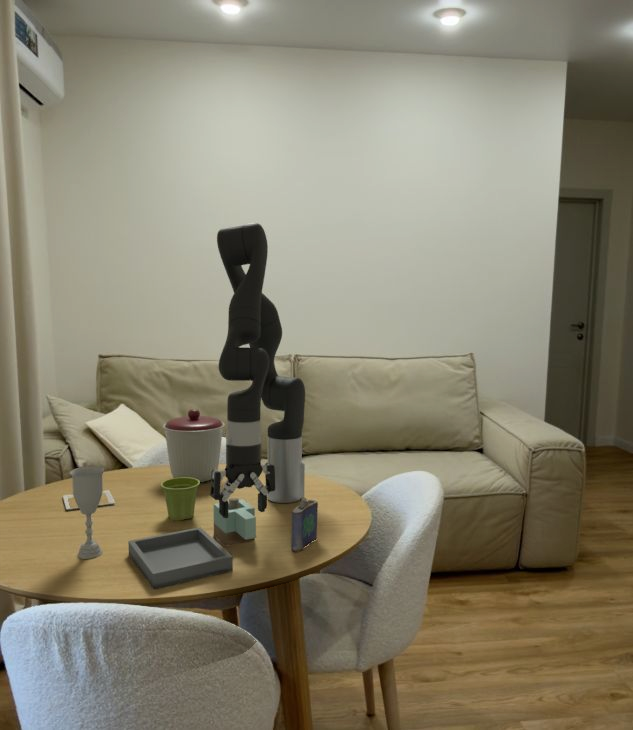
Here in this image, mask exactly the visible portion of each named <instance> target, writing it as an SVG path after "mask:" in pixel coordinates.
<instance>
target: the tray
mask: <svg viewBox="0 0 633 730" xmlns="http://www.w3.org/2000/svg"><path fill="white" fill-rule="evenodd" d="M127 541H128V545H127V546H128V556H129V557H130V558H131V560H132V561H133V563H134V564H135V566H136V567H137V568H138V570H139V571H140V572H141V573H140V574H142V575H143V577H144V578H145V580H146V581H147V583H148V584H149V586H151V588H152V590H157V589H161V588H165V587H170V586H174V585H178V583H179V584H182V583H186V582H190V580H191V581H195V579H196V580H199V579H203V578H208V577H212V576H216V575H221V574H226V573H230V572H233V569H234V567H233V565H234V563H233V561H234V559H233V558H234V556H233V555H232V554H231V553H230V552H228V550H226V549H225V548H224V547H223V546H222V545H221V544H220V543H218V542H217V541H216V539H214V538H213V537H212V536H211V535H210V534H209V533H207V531H206V530H205V529H204V528H202V527H200V526H199V527H194V528H189V529H185V530H178V531H175V532H170V533H169V532H168V533H164V534H159V535H153V536H147V537H143V538H138V539H132V540H131V539H130V540H127Z"/></svg>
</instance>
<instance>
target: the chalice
mask: <svg viewBox="0 0 633 730" xmlns="http://www.w3.org/2000/svg"><path fill="white" fill-rule="evenodd" d="M104 472H105V468H104V467H101V466H96V465H95V466H94V465H92V466H91V465H89V466H88V465H87V466H82V467H77V468H74V469H72V470H70V471H69V475H71V477H72V478H71V479H72V494H73V496H74V498H73V499H74V501H75V503H76V506H77V507H79V509H78V510H80V513H81V514H83V515H85V517H86V520H85V524H84V525H85V526H86V530H85V531H84V533H85V534H86V537H87V538H86V540H85V541H84V542H82V543H81V545H80V547H79V550H78V552H77V555H76V557H77V558H79V559H82V560H83V559H84V560H86V559H88V560H89V559H95V558H97V557H99V556H102V554H103V550H102V549H101V547H100V544H99V542H97V541H95V540H94V539H93V538H92V536H93V532H94V529H92V528H93V527H92V525H93V523H94V522H93V521H92V515H93V514H94V513H96V512H97V509H98V507H99V506H98V505H100V503H101V498H102V496H103V494H102V493H103V491H104V490H103V484H104V483H103V474H104Z"/></svg>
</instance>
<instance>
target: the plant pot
mask: <svg viewBox="0 0 633 730" xmlns="http://www.w3.org/2000/svg"><path fill="white" fill-rule="evenodd" d="M200 484H201V483H200V481H199V480H198V479H195V478H189V477H179V478H169V479H166V480H163V481H162V482H161V483H160V487H161V488H162V493H164V499H165V502H166V510H167V515H168V518H169V519H170V520H172V521H179V522H180V521H183V520H185V519H187V520H190V519H191V518H193V517H194V516H195V515H194V514H195V506H196V500H197V498H196V497H197V492H198V490H199V486H200Z"/></svg>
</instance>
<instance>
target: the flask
mask: <svg viewBox="0 0 633 730" xmlns="http://www.w3.org/2000/svg"><path fill="white" fill-rule="evenodd" d="M301 498H302V499H301ZM300 500H301V501H300ZM298 501H300V503H299V505H298V506H296V507H295V508H294V509H292V510H291V545H290V546H291V547H290V548H291V551H292V550H293V551H294V552H296V551H299V552H302V551H303V550H304V549H305V548H304V547H305V546H307V545H308V544H309V543H311V542H312V541H314V540H316V539H317V540H318V537H317V535H318V533H317V532H318V528H317V527H318V511H319V510H318V508H319V506H318V505H319V503H318V501H317V500H313V499H308V498H306V497H305V496H304V498H303V497H300V499H299V500H298ZM317 540H316V541H317ZM314 542H315V541H314ZM312 543H313V542H312ZM312 543H311V544H312ZM309 545H310V544H309ZM303 548H304V549H303ZM302 549H303V550H302ZM301 550H302V551H301Z"/></svg>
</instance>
